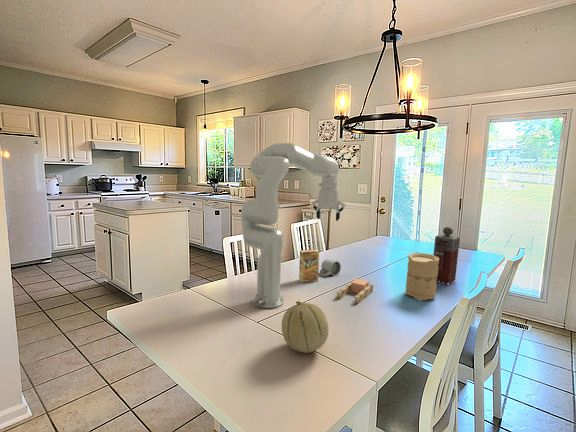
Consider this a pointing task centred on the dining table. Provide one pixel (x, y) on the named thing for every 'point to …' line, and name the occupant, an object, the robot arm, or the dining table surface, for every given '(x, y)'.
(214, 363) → the dining table surface
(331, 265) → the ceramic mug
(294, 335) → the cantaloupe
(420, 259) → the container
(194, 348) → the dining table surface
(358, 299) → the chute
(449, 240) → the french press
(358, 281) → the block
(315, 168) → the robot arm
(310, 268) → the candy box
